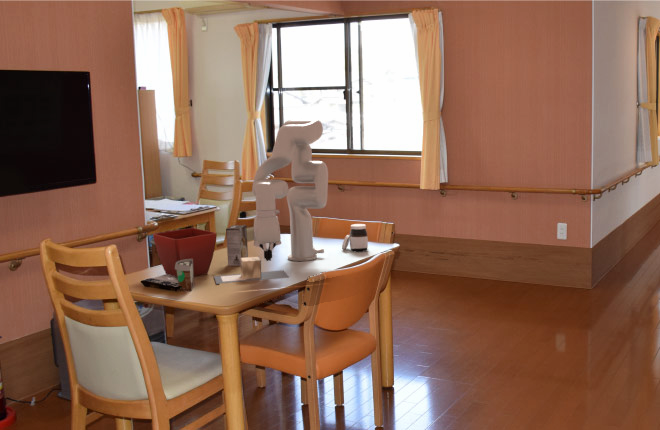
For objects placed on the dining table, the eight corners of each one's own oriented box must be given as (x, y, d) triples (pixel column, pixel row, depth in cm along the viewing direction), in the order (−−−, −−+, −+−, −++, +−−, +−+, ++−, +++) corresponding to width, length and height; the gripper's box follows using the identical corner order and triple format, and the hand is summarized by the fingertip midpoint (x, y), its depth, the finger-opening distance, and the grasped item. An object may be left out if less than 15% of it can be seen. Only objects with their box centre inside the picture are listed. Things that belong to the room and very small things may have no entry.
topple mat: (283, 271, 298) (283, 270, 298) (289, 278, 285) (289, 277, 285) (213, 277, 291) (213, 275, 291) (216, 284, 279) (216, 283, 279)
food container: (178, 284, 281) (176, 259, 280) (194, 284, 282) (192, 258, 280) (174, 293, 269) (172, 266, 268) (191, 292, 270) (189, 265, 268)
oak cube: (258, 256, 291) (240, 257, 290) (260, 260, 285) (242, 261, 283) (258, 274, 292) (241, 275, 291) (261, 277, 286) (243, 279, 284)
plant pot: (220, 273, 298) (217, 232, 296) (178, 282, 286) (175, 239, 283) (195, 266, 312) (192, 227, 310) (154, 274, 300) (151, 233, 297)
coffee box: (234, 261, 320) (232, 224, 318) (248, 261, 319) (246, 224, 317) (227, 265, 312) (225, 228, 309) (242, 266, 310) (240, 228, 308)
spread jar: (369, 252, 331) (368, 226, 329) (344, 253, 329) (343, 227, 327) (364, 246, 343) (363, 222, 341) (340, 248, 341) (339, 223, 339)
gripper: (283, 211, 291) (285, 256, 294) (245, 213, 288) (248, 259, 291) (286, 214, 284) (288, 260, 287) (248, 216, 281) (250, 263, 284)
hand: (268, 260), depth 289 cm, fingers closed
